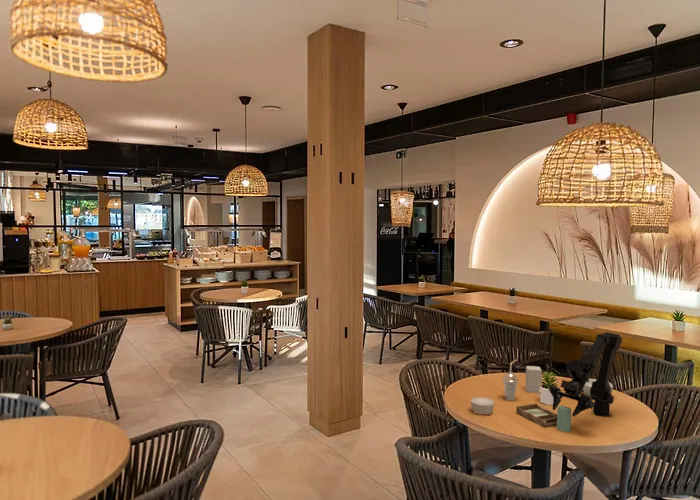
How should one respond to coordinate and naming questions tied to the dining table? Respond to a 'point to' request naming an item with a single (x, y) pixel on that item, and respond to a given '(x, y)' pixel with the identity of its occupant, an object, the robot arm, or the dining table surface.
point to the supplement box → (533, 379)
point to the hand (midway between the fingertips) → (562, 412)
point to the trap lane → (538, 415)
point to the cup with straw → (510, 384)
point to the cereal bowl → (588, 387)
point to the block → (564, 419)
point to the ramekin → (482, 405)
